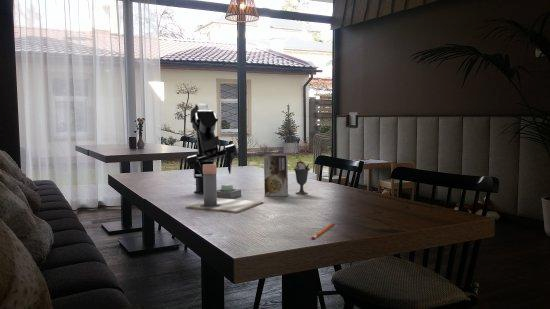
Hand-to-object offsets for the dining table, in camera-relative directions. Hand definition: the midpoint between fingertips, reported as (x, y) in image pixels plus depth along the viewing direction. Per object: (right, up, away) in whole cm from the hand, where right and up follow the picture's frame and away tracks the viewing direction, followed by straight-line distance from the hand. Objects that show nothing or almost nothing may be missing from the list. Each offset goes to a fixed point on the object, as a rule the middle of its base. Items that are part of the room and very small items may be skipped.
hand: (217, 177), depth 165 cm
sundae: (+32, -8, +17) cm, 37 cm away
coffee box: (+22, -8, +14) cm, 27 cm away
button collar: (+2, -8, +11) cm, 14 cm away
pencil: (+34, -13, -44) cm, 57 cm away
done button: (+2, -6, +11) cm, 12 cm away
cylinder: (-1, -9, -11) cm, 14 cm away
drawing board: (+4, -10, -7) cm, 13 cm away
